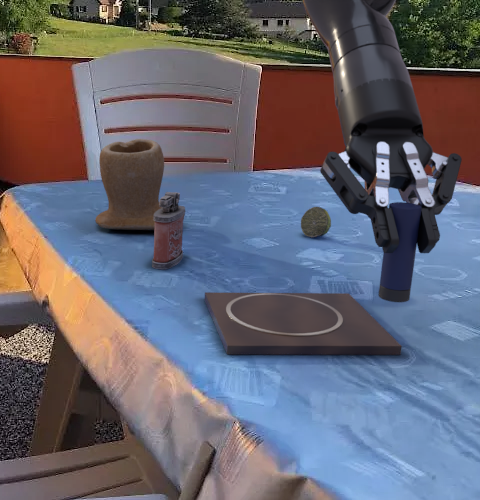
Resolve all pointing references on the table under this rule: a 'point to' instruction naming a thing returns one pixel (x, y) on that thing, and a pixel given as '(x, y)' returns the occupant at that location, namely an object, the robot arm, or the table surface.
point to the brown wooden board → (297, 324)
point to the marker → (401, 254)
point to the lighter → (168, 232)
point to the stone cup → (131, 184)
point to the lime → (315, 222)
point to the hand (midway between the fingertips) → (410, 248)
